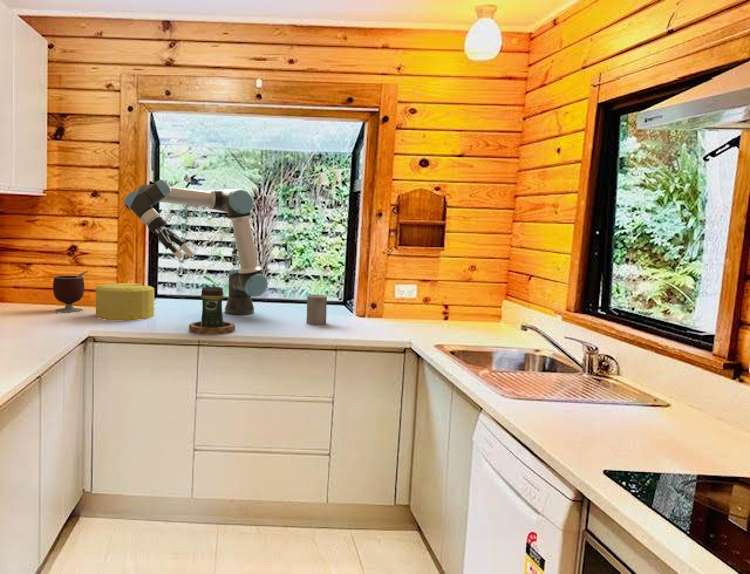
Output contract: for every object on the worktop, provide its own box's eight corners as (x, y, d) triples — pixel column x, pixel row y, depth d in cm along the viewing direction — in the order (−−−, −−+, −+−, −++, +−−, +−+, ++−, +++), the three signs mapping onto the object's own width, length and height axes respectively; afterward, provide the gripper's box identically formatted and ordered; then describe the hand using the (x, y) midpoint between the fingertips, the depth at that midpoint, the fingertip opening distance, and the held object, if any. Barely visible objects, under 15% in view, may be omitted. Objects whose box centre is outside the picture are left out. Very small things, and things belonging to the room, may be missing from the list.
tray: (228, 325, 278) (228, 320, 277) (239, 333, 261) (239, 327, 261) (185, 327, 269) (185, 321, 268) (194, 335, 252) (194, 329, 252)
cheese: (161, 313, 303) (161, 284, 302) (143, 322, 277) (143, 290, 276) (109, 311, 302) (109, 281, 301) (85, 319, 276) (85, 287, 275)
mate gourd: (53, 313, 288) (53, 272, 286) (52, 309, 300) (52, 269, 298) (89, 312, 296) (88, 272, 294) (86, 308, 308) (86, 269, 306)
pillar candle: (311, 320, 301) (312, 291, 299) (329, 322, 297) (330, 292, 296) (302, 324, 292) (303, 293, 290) (321, 325, 288) (321, 295, 287)
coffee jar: (224, 327, 269) (224, 286, 267) (222, 330, 262) (223, 288, 260) (202, 326, 268) (202, 285, 266) (199, 329, 260) (200, 287, 258)
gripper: (158, 226, 279) (190, 260, 280) (135, 227, 254) (170, 264, 255) (170, 215, 278) (201, 249, 279) (148, 215, 253) (183, 252, 254)
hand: (187, 256), depth 267 cm, fingers open, 13 cm apart
